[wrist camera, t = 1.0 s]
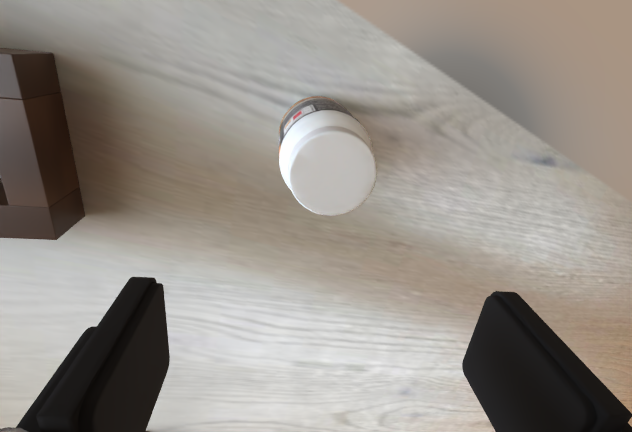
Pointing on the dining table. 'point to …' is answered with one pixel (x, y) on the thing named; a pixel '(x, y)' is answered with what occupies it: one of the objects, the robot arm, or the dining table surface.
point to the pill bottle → (326, 156)
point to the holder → (35, 150)
